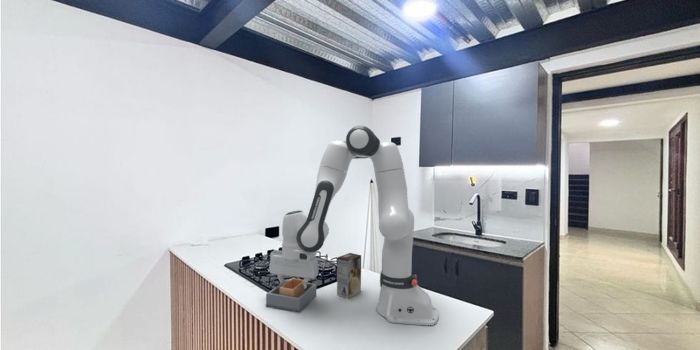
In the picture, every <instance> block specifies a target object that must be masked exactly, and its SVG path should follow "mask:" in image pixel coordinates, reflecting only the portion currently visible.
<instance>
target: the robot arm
mask: <svg viewBox="0 0 700 350" xmlns="http://www.w3.org/2000/svg"><path fill="white" fill-rule="evenodd" d="M380 140H381V139H379V137H378V136H377V135H376V134H375V132H374V131H372V130H371V129H370V128H369V127H367V126H365V125H356V126H354V127H352V128H351V129H350V130H349V131H348V132H347V134H346V137H345V140H339V139H337V140H331V141H330V142H329V143H328V144H327V146H326V148H325V150H324V152H323V154H322V157H321V161H320V163H319V166H318V167H319V168H318V172H317V175H316V184H315V191H314V195H313V199H312V202H311V205H310V207H309V208H310V209H309V212H308V214H307V213H306V212H304V211H303V210H293V211H290V212H287V213H285V215H284V216H283V217H282V218H283V219H282V227H281V228H282V229H281V231H282V232H281V235H282V239H283V240H282V243H281V249H280V250H278V249H274V250H272V251H271V252H270V255H269V256H270V257H269V258H270V260H269V273H270V274H272V275H277V278H278V280H279V284H280V285H281V286H282V285H284V284H285V282H286V280H287V279H284V276H288V277H294V278H295V277H296V278H303V280H305V282H304V283H303V284H302V287H301V288H303V289H306V288H307V283H309V281H310V280H313V279H315V278H317V276H318V275H319V261H318V259H317V257H316V256H317V252H318V251H319V250H320V249H321V248H323V246H324V242H325V241H326V240H327V237H328V235H329V231H330V229H329V225H328V224H327V221H326V217H327V214H328V211H329V207H330V205H331V203H332V201H333V199H334V198H335V196H336V195H337V193H338V192H339V191H340V189H341V188H342V186H343V185H344V183H345V180H346V178H347V174H348V171H349V167H350V164H351V163H352V160H353V159H354V160H355V159H356V160H357V159H370V160H371V162H372V165H373V171H374V177H375V183H376V188H377V189H376V190H377V191H376V192H377V200H378V202H377V205H378V207H377V208H378V229H379V232H380V234H381V235H382V236H383V237H384V238H383V245H382V249H381V270H380V271H381V272H380V274H379V287H380V291H379V297H378V301H377V305H376V311H377V313H378V314H379V315H380V316H383V317H384V318H385V319H386V320H387V321H388V322H389V323H391V324H392V323H393V324H404V325H405V324H406V325H417V326H428V325H429V326H430V325H431V326H432V327H433V326H434V324H435V325H436V324H437V323H438V321H439V312H438V309H437V308H436V306H434V305H433V304H432V300H431V296H430V295H429V294H428V292H426V291H425V290H424V289H423V288H422V287H421V286H419V285H418V277H417V274H413V273H412V265H413V264H412V259H413V258H412V256H413V245H414V244H413V243H414V234H415V233H414V232H415V216H414V213H413V212H412V210H411V209H410V208H409V201H408V187H407V181H406V174H405V169H404V163H403V159H402V155H401V153H400V149H399V148H398V146H397V144H396V143H394V142H392V141H380ZM325 221H326V222H325ZM429 326H428V327H429ZM431 326H430V327H431Z"/></svg>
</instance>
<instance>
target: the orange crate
mask: <svg viewBox="0 0 700 350" xmlns="http://www.w3.org/2000/svg"><path fill="white" fill-rule="evenodd" d="M288 280H289V281H288V282H286V283H285V284H284V285H282V286H281V287H280V289H279V295H284V296H290V297H296V298H299V297H300V296H301V295H302V294H303V293H304V292H305V289H303V288H301V287H302V284H303V283H304V282H305V280H304V279H299V278H295V277H294V278H293V277H291V278H290V279H288Z"/></svg>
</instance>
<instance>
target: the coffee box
mask: <svg viewBox="0 0 700 350" xmlns="http://www.w3.org/2000/svg"><path fill="white" fill-rule="evenodd" d="M336 259H337V260H336V261H337V262H336V264H337V265H336V295H337V296H339V297H342V298H344V299H351V298H352V297H354V296H356V295H357V294H360V292H361V291H362V255H361V254H358V253H352V252H349V253H345V254H344V255H340V256H337V258H336Z"/></svg>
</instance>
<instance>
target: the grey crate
mask: <svg viewBox="0 0 700 350" xmlns="http://www.w3.org/2000/svg"><path fill="white" fill-rule="evenodd" d="M285 280H286V282H288V281H289V280H290V279H285ZM286 282H285V283H286ZM280 287H281V285H280V283H279V284H278V285H276V286H275V287H273V289H271V290H269V291H268V292H267V293H265V294H266V295H265V301H266V302H265V307H266V308H272V309H276V310H282V311H287V312H290V313H291V312H292V313H297V314H300V313H301V312H302V311H303V310H304V309H305V308H306V307H307V306H308V305H309V304H311V302H312V301H313V300H314V299H315V298H316V297H317V283H311V282H307V288H306V289H305V292H304V293H303V294H302V295H301V296H300V297H299V298H296V297H290V296H284V295H279V289H280Z"/></svg>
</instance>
